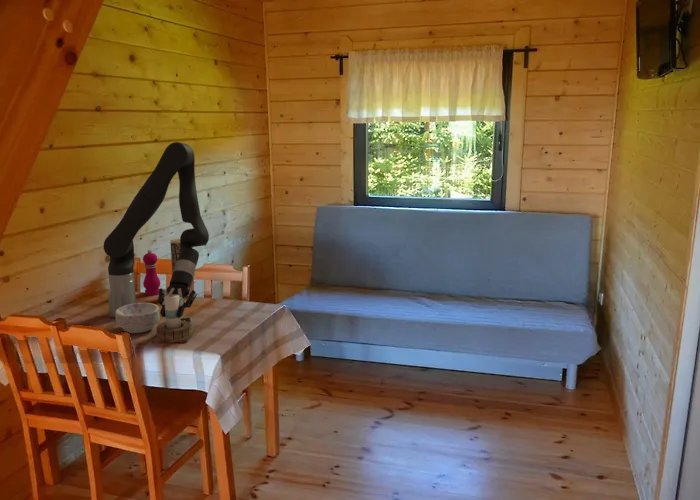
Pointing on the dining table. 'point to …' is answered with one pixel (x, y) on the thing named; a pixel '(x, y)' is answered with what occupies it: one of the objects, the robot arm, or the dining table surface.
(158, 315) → the paper bowls
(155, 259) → the pepper mill
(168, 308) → the roll
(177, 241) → the bark covered cylinder
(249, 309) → the dining table surface
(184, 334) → the holder
